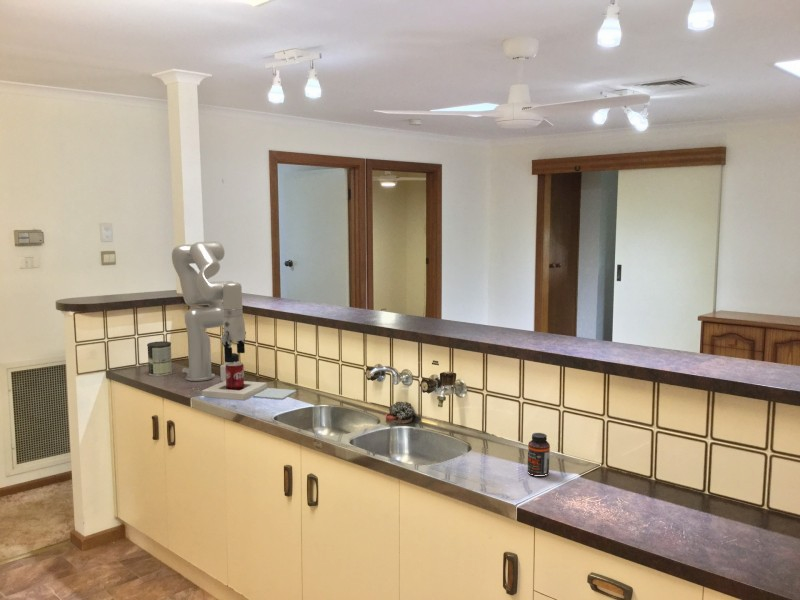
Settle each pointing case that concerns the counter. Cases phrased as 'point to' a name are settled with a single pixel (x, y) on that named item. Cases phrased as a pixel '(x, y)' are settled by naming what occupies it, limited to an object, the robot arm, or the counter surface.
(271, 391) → the mat
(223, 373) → the medicine bottle
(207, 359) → the robot arm
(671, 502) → the counter surface
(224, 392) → the collar dock
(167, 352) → the coffee can
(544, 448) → the supplement bottle
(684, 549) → the counter surface
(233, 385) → the soda can
